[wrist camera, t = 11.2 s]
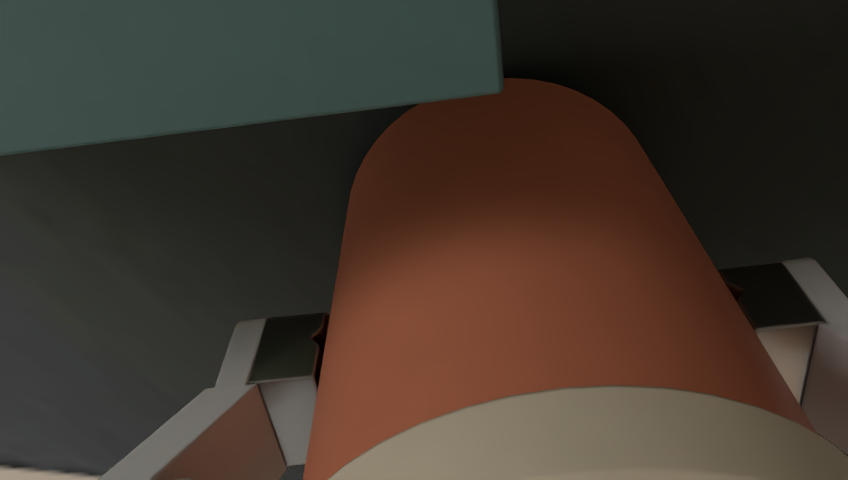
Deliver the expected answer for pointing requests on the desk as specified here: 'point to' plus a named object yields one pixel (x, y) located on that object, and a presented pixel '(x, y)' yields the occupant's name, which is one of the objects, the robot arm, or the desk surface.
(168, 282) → the desk surface
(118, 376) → the desk surface
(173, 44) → the lidded square case
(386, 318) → the canister
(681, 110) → the desk surface
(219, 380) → the robot arm
